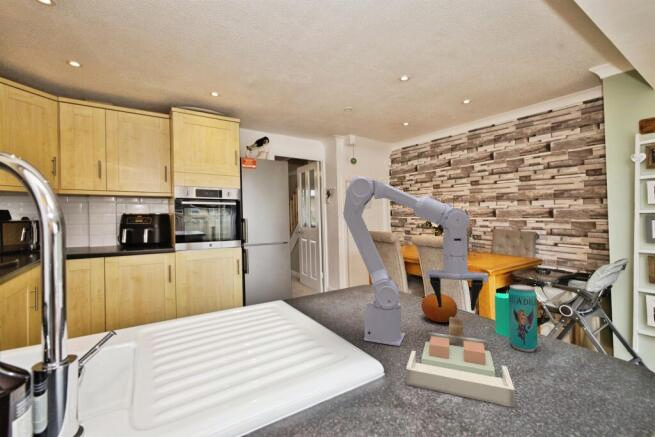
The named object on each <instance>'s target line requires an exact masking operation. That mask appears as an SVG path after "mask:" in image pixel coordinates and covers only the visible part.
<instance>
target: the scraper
mask: <svg viewBox="0 0 655 437" xmlns="http://www.w3.org/2000/svg"><path fill="white" fill-rule="evenodd" d="M448 323H449V325H448V326H449V328H448V329H449V330H448V332H449V333H448V334H446V333H445V334H444V333H437V332H432V331H428V333H427V337H428V339H427V342H430V339H431V336H434V337H441V338H448V339H449V345H453V346H459V347H464V342H463V341H469V342H476V343H483V345H484V349H485V350H486V351H488V341H487V339H480V338H475V337H465V336H464V319H463V317H456V316H455V317H450V321H448Z"/></svg>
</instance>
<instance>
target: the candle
mask: <svg viewBox="0 0 655 437" xmlns="http://www.w3.org/2000/svg"><path fill="white" fill-rule="evenodd" d="M494 320H495V321H494V326H495V334H498V335H499V336H502V337H506V338H509V292H507V293H499V292H497V293H495V294H494Z"/></svg>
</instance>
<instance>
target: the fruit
mask: <svg viewBox="0 0 655 437" xmlns="http://www.w3.org/2000/svg"><path fill="white" fill-rule="evenodd" d="M441 300H442V306H441V307H438V301H437V297H436V294H435V292H434V293H429V294H428V295H426V296H424V297H423V299H422V301H421V311H422V312H423V314H424V315H425V317H427V318H428V319H429V320H431V321H434V322H436V323H449V321H450V317H456V315H457V313H458V305H457V302H456V301H455V300H454V299H453V297H452V296H450V295H446V294H443V293H441Z"/></svg>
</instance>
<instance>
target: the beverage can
mask: <svg viewBox="0 0 655 437" xmlns="http://www.w3.org/2000/svg"><path fill="white" fill-rule="evenodd" d="M508 293H509V337H508V338H509V341H510V343H511V347H512V348H514V349H515V350H517V351H521V352H526V353H532V352H534V351H535V350H536V348H537V346H538V304H537V300H538V299H537V298H538V297H537V292H536V288H535V287H533V286H530V285H525V284H511V285H509V290H508Z"/></svg>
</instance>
